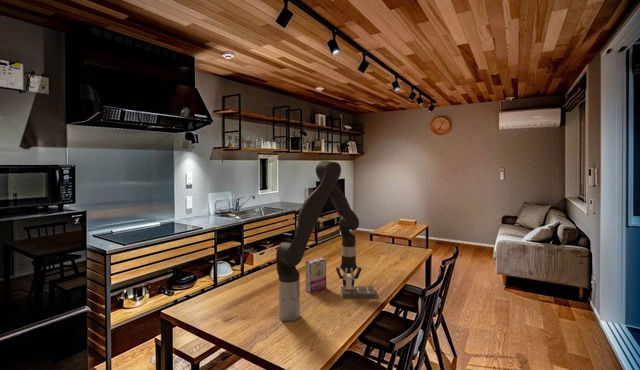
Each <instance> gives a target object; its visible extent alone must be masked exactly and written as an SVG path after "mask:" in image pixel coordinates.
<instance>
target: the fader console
mask: <svg viewBox="0 0 640 370" xmlns="http://www.w3.org/2000/svg"><path fill="white" fill-rule="evenodd" d="M340 292H341V293H340V294H341V297H342V299H361V298H362V299H363V298H364V299H370V298H371V299H372V298H373V299H374V298H375V299H376V297H377V293H376V291H375V288H374V287H373V286H372V285H371V286H370V285H368V286H367V285H365V286H361V285H360V286H359V285H358V286H357V285H356V286H355V285H354V286H353V287H352V289H350V290H347V289H346V288H345V287H344V286H343V285H342V286H340Z"/></svg>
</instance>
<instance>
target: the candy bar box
mask: <svg viewBox="0 0 640 370" xmlns="http://www.w3.org/2000/svg"><path fill="white" fill-rule="evenodd" d="M304 271H305V272H304V276H305V278H304V279H305V291H306V292H307V293H309V294H313V293H316V292H319V291H322V290H324V289H327V259H326V258H324V257H322V256H321V257H320V256H319V257H317V258H313V259H309V260H306V261H304Z"/></svg>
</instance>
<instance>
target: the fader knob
mask: <svg viewBox="0 0 640 370" xmlns="http://www.w3.org/2000/svg"><path fill="white" fill-rule="evenodd" d="M345 288H346V289H347V290H350V289H352V277H351V274H348V275H346V287H345Z"/></svg>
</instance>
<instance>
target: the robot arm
mask: <svg viewBox="0 0 640 370" xmlns="http://www.w3.org/2000/svg"><path fill="white" fill-rule="evenodd" d="M341 172H342V166H341V164H340V163H339V162H336V161H329V160H328V161H327V160H322V161H321V160H320V161H319V162H318V163H317V164H316V166H315V175H316V177H317V179H318V180H319V181H320V184H319V185H318V187H317V188H316V189H315V190H314V191H313V192H311V194H310V195H308V196H307V197H306V198H305V200H304V201H303V203H302V205H301V207H300V210H299V211H298V215H297V224H296V225H297V227H296V232H295V235H294V237H293V239H292V241H291V242H288V241H285V242H282V243H280V244H279V246H278V247H277V248H276V254H275V257H276V258H275V259H276V260H275V262H276V272H277V276H278V317H279V319H280V320H281V322H296V321H297V320H298V319H299V318H300V315H301V314H300V313H301V308H300V307H301V306H300V304H301V303H300V297H301V296H300V291H301V290H300V289H301V288H300V284H301V283H300V282H301V281H300V272H299V270H298V269H297V267H296V266H298V265H299V264H300V263H301V262H302V260H303V257H304V255H305V252H306V249H307V246H308V243H309V241H310V238H311V236H312V234H313V231H314V229H315V227H316V224H317V222H318V220H319V219H320V216H321V213H322V212H323V210H324V207H325V205H326V202H327V201H328V199H329V197H330V200H331V201H332V203H333V206H334V209H335V211H336V213H337V215H338V216H340V217H339V220H338V228H339V231H340V235H341V252H340V254H341V261H340V262H341V263H340V266H336V267H335V271H336V272H337V275H338V277H339V280H342V286H344V287H346V275H347V274H348V275H351V277H352V287H353V286H355V280H358V278H359V276H360V274H361V272H362V267H361V266H358V265H357V248H356V247H357V245H356V244H357V243H356V241H357V239H356V235H355V234H354V233H352V232H351V231H356V230H358V229H359V226H360V221H359V218H358V216H357V214H356V213H355V212H354V210H353V209H352V208H351V206H350V203H349V201H348V198H347V196H346V195H345V194H344V192H343V191H342V190H341V189H340V188H339V186H338V185H337V183H338V181H339V179H340V177H341ZM341 271H342V273H343V274H342V273H341ZM355 271H356V272H355ZM354 272H355V274H354Z"/></svg>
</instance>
